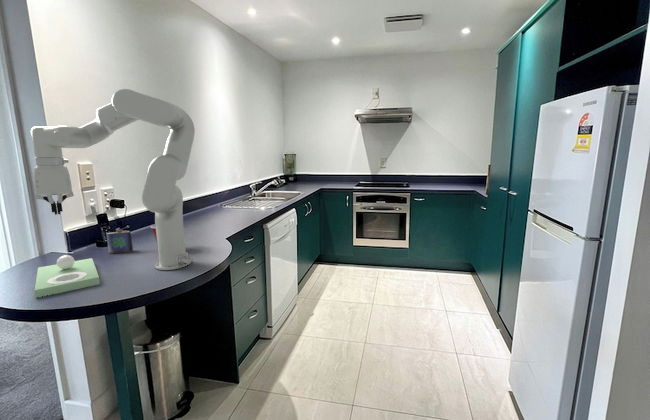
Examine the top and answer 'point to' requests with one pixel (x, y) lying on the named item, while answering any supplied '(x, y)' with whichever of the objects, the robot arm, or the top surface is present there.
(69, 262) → the ball
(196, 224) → the top surface
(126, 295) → the top surface
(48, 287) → the tissue box
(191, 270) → the top surface
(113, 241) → the flask
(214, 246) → the top surface
